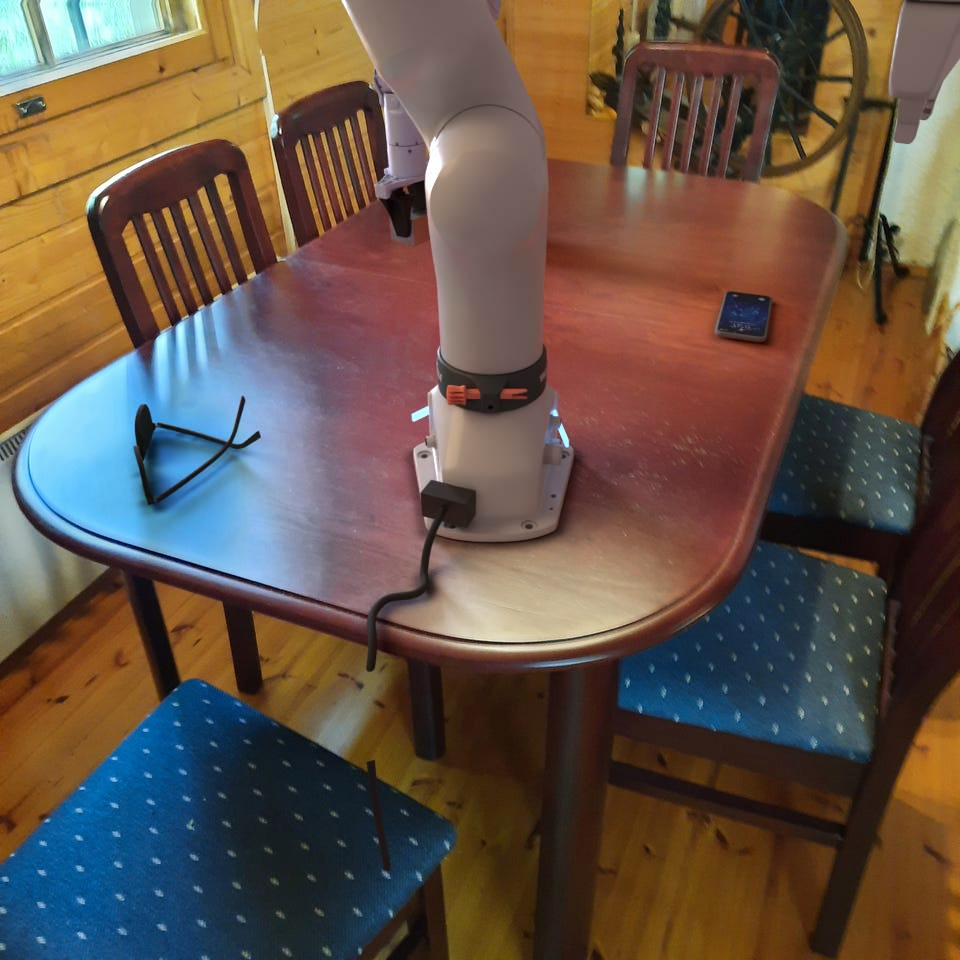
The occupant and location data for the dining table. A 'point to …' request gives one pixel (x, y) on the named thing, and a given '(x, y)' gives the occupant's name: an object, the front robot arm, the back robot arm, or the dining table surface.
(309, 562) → the dining table surface
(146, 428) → the sunglasses
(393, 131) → the back robot arm
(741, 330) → the smartphone
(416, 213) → the block
